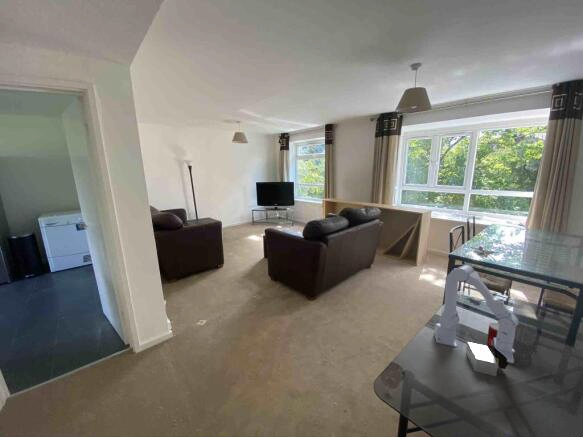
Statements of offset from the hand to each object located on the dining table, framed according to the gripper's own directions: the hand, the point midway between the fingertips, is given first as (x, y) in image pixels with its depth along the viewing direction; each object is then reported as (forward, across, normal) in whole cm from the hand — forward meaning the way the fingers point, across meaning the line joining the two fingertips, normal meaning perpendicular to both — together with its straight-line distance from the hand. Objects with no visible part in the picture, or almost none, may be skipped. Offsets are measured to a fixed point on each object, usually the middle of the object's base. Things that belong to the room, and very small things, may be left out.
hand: (500, 365), depth 109 cm
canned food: (+2, +18, -6) cm, 19 cm away
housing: (+2, 0, +8) cm, 8 cm away
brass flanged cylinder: (+2, 0, +3) cm, 3 cm away
